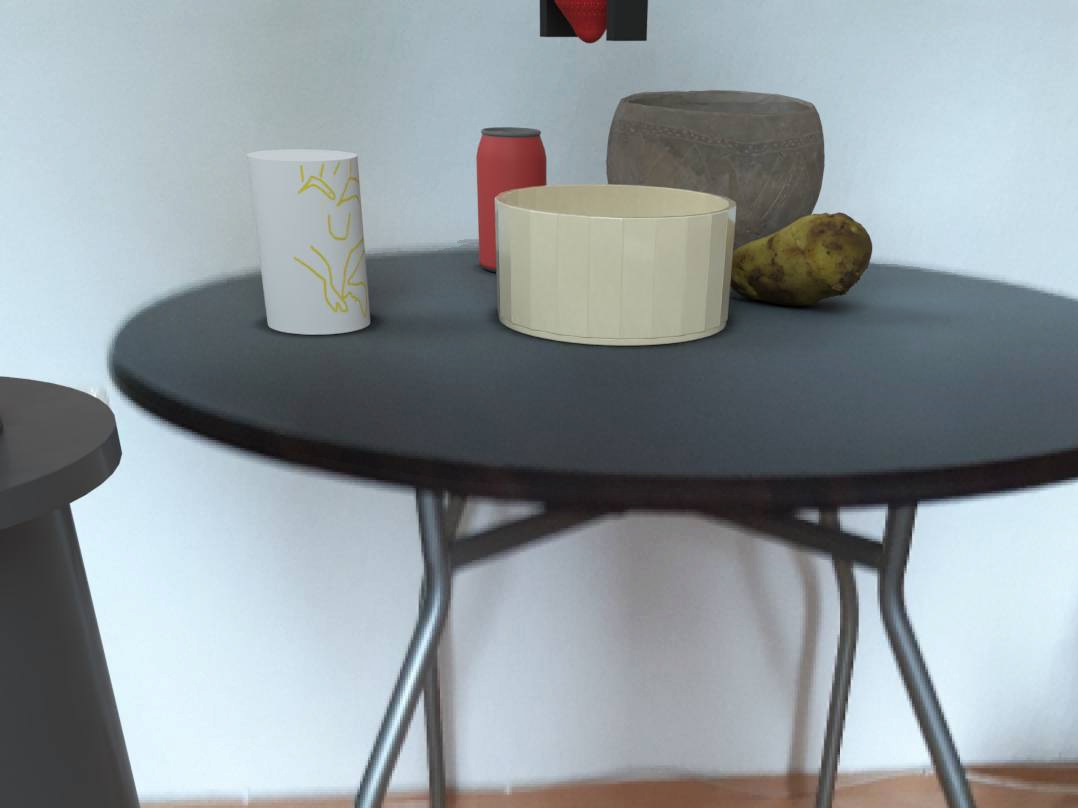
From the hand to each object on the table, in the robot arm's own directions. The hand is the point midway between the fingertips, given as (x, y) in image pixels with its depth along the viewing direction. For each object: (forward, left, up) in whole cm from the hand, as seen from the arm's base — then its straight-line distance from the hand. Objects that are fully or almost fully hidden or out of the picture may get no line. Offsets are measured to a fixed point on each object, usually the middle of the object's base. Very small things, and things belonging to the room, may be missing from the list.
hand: (592, 38), depth 77 cm
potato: (+27, +4, -20) cm, 34 cm away
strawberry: (0, 0, -1) cm, 1 cm away
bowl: (+34, +22, -20) cm, 45 cm away
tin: (+11, +10, -20) cm, 25 cm away
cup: (-10, +22, -20) cm, 32 cm away
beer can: (+17, +32, -20) cm, 42 cm away
